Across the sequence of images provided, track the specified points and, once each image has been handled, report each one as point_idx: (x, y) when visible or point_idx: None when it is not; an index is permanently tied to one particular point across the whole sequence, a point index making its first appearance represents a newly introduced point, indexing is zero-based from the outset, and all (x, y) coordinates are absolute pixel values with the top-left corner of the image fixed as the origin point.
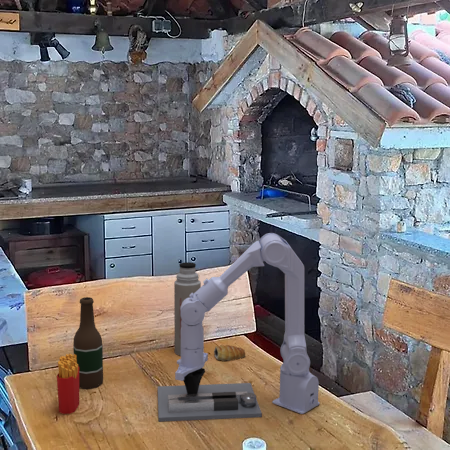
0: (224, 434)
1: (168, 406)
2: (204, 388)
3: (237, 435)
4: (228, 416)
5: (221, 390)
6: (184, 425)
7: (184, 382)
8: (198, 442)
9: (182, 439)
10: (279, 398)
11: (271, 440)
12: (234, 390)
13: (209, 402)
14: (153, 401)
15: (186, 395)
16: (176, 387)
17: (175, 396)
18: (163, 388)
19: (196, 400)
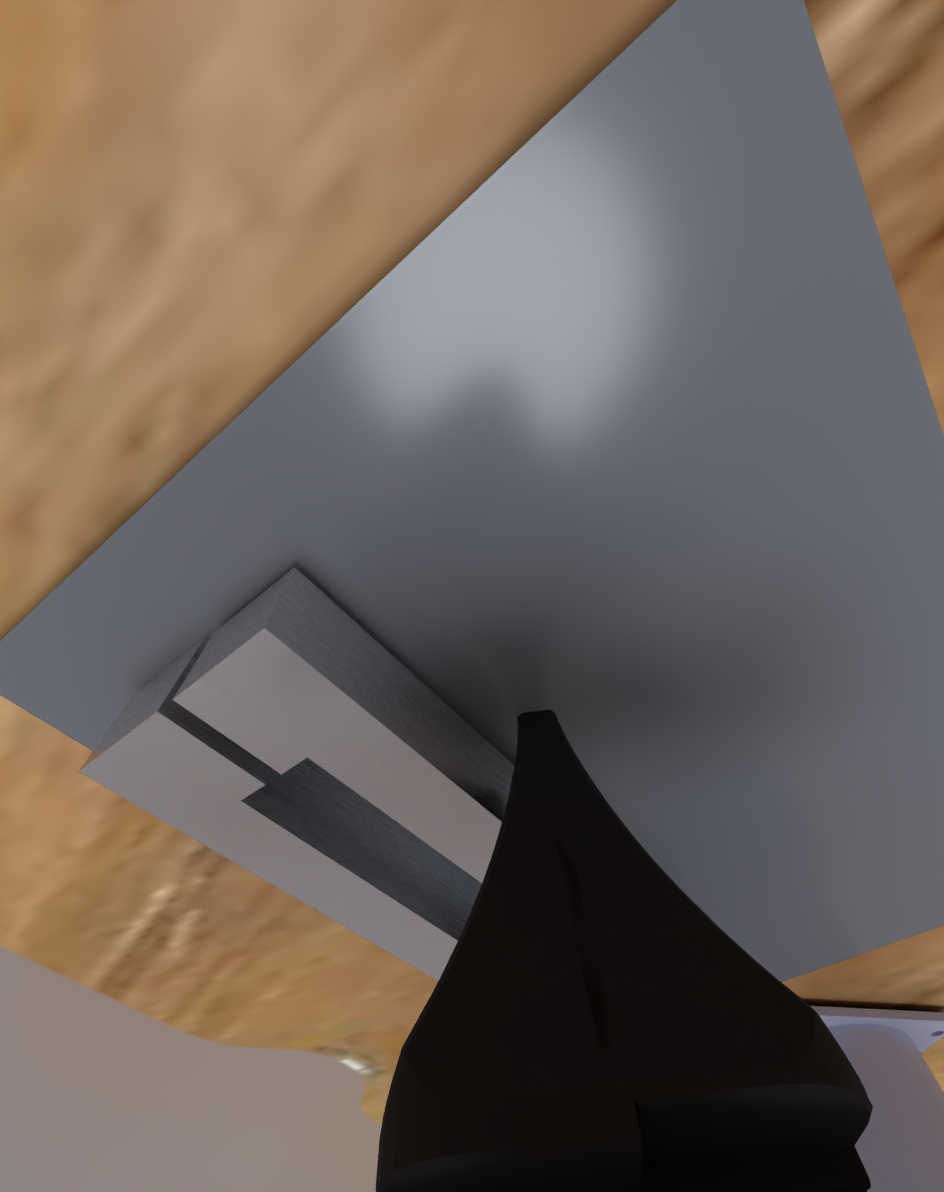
0: (273, 993)
1: (216, 630)
2: (879, 662)
3: (315, 1025)
4: None
5: (866, 794)
6: (159, 820)
7: (482, 890)
8: (76, 958)
9: (5, 896)
10: (842, 1022)
11: (383, 1097)
12: (892, 858)
13: (428, 972)
14: (309, 239)
15: (420, 796)
16: (825, 338)
17: (301, 726)
18: (716, 136)
19: (381, 907)
